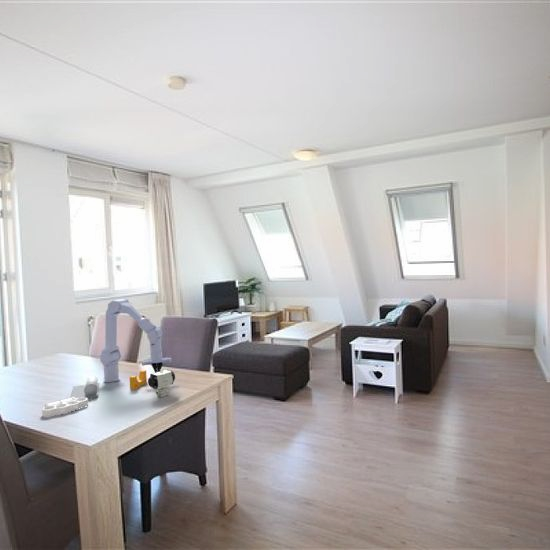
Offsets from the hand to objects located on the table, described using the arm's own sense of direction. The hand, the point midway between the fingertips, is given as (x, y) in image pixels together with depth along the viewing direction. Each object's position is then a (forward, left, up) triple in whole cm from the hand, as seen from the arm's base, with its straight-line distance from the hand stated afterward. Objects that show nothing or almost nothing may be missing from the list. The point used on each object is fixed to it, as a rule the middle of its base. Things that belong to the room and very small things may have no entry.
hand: (157, 377), depth 209 cm
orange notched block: (+1, -10, -3) cm, 11 cm away
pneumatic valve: (+23, 0, -3) cm, 23 cm away
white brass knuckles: (+20, -41, -3) cm, 46 cm away
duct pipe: (0, -34, -3) cm, 34 cm away
